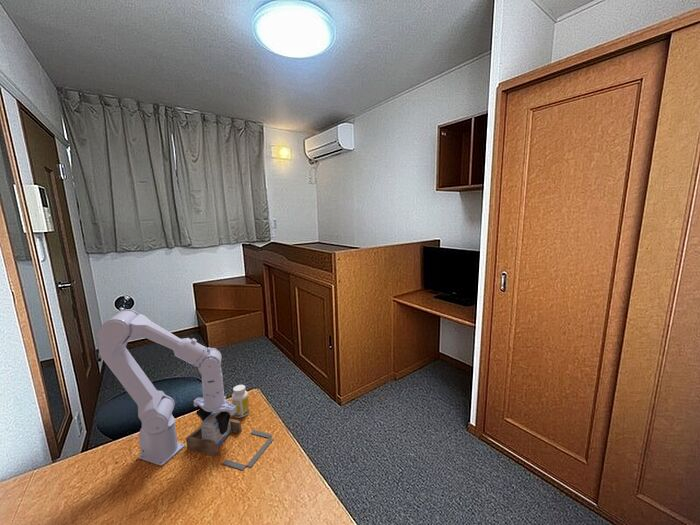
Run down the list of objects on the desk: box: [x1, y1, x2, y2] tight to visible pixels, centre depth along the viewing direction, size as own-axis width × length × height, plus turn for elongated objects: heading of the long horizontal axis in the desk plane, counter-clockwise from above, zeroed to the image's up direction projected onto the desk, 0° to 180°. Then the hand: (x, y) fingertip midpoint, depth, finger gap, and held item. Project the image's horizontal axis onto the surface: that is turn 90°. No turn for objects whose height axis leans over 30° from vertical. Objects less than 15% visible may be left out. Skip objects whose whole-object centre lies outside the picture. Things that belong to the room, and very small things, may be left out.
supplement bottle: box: [231, 384, 250, 419], centre depth 105 cm, size 5×5×10 cm
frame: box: [221, 429, 274, 471], centre depth 89 cm, size 8×14×1 cm, turn 161°
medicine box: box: [200, 412, 232, 448], centre depth 93 cm, size 8×4×9 cm, turn 168°
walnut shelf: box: [185, 418, 242, 458], centre depth 93 cm, size 11×11×4 cm
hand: (217, 430), depth 93 cm, fingers open, 5 cm apart
